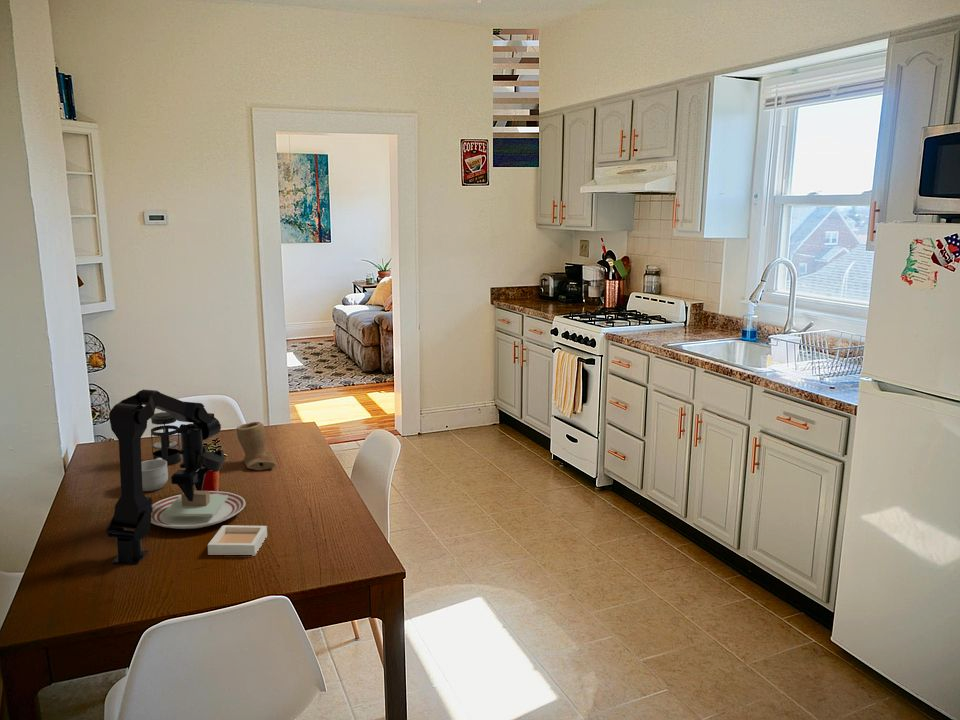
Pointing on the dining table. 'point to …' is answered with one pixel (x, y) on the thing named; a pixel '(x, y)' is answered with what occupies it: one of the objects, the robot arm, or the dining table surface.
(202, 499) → the cover
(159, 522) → the dinner plate
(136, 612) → the dining table surface
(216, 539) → the dish
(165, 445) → the french press
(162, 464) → the teacup
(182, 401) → the robot arm
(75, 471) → the dining table surface
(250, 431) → the beige boot
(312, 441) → the dining table surface
